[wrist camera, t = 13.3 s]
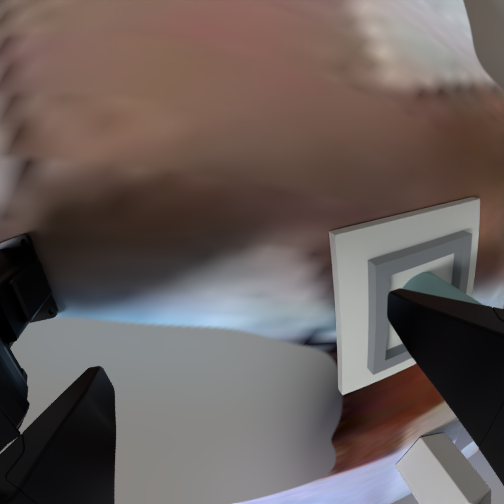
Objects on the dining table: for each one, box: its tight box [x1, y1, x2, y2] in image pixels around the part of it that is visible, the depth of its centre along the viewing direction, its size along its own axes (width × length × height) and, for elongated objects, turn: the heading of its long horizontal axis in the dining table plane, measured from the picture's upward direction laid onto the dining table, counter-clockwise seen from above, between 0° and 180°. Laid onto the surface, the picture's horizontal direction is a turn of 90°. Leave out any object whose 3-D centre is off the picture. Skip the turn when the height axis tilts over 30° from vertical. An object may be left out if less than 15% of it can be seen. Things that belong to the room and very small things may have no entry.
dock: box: [329, 197, 480, 395], centre depth 25 cm, size 16×16×2 cm
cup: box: [402, 272, 482, 305], centre depth 20 cm, size 6×6×12 cm
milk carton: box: [395, 433, 491, 504], centre depth 30 cm, size 7×7×19 cm
